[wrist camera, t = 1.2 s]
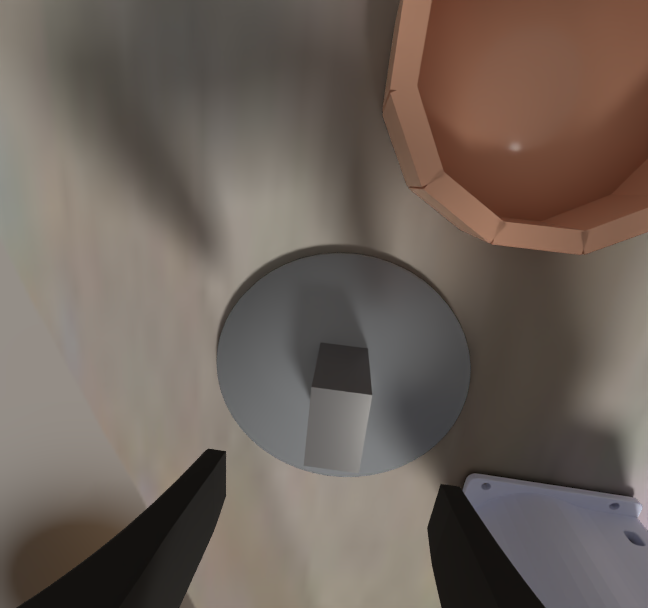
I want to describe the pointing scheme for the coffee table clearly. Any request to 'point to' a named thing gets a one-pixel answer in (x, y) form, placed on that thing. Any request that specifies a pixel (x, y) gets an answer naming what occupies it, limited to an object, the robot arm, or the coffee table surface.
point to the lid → (343, 365)
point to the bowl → (524, 117)
